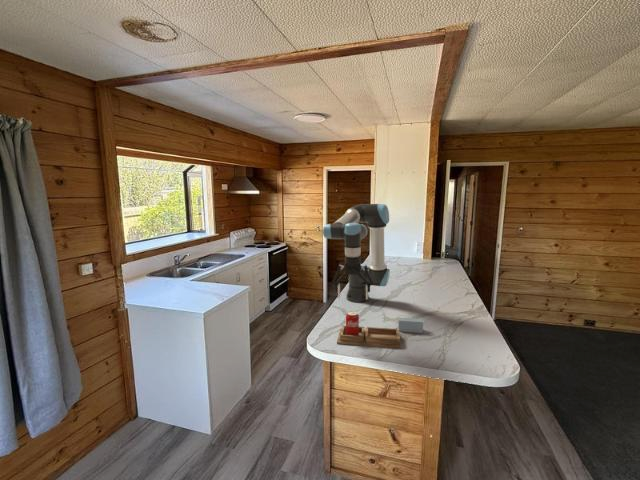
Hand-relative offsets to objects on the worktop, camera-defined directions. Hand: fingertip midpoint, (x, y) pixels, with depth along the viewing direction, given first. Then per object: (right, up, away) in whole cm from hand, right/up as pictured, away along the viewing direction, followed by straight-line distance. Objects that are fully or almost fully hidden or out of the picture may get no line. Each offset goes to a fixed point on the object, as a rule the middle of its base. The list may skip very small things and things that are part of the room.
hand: (352, 297), depth 154 cm
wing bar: (+31, -19, +11) cm, 38 cm away
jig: (+8, -21, +2) cm, 22 cm away
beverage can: (0, -20, +3) cm, 20 cm away
